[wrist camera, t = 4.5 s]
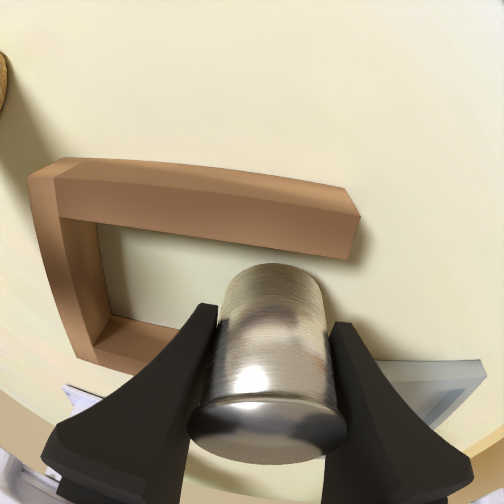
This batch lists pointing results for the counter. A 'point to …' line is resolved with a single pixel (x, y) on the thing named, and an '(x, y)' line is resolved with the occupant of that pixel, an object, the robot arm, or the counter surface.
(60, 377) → the counter surface
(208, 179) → the notch block
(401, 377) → the dish
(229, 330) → the salt shaker
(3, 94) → the sprinkles bottle
